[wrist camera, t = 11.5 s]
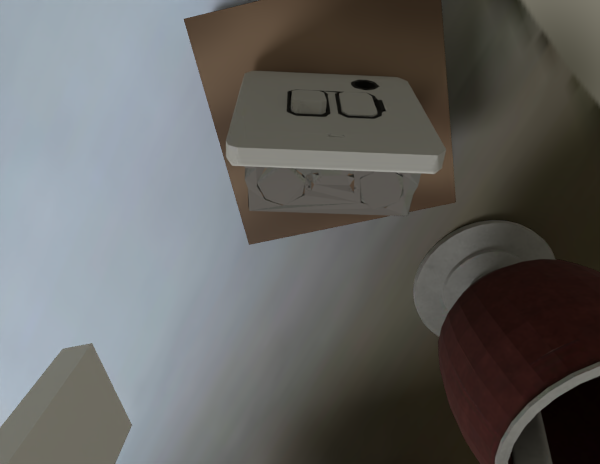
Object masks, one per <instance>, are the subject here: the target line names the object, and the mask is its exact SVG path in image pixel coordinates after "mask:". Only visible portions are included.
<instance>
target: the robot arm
mask: <svg viewBox="0 0 600 464" xmlns="http://www.w3.org/2000/svg"><path fill="white" fill-rule="evenodd" d="M131 426H132V424H131V422H130V420H129V418H128V416H127V414H126V412H125V410H124V408H123V406H122V404H121V402H120V400H119V398H118V396H117V394H116V392H115V390H114V387H113V385H112V383H111V381H110V379H109V377H108V375H107V373H106V371H105V369H104V367H103V365H102V363H101V361H100V359H99V357H98V355H97V353H96V351H95V348H94V346H93V344H92V343H91V344H86V345H81V346H75V347H70V348H65V349H62V350H61V352H60V353H59V354H58V355H57V357H56V358H55V359H54V361H53V362H52V363H51V364H50V366H49V367H48V368H47V369H46V371H45V372H44V373H43V374H42V376H41V377H40V378H39V379H38V381H37V382H36V383H35V385H34V386H33V387H32V388H31V390H30V391H29V392H28V393H27V395H26V396H25V397H24V398H23V400H22V401H21V402H20V403H19V405H18V406H17V407H16V409H15V410H14V411H13V412H12V414H11V415H10V416H9V417H8V419H7V420H6V421H5V422H4V424H3V425H2V426H1V428H0V464H115V463H116V460H117V458H118V456H119V454H120V451H121V449H122V447H123V444H124V442H125V440H126V437H127V435H128V433H129V431H130V428H131Z"/></svg>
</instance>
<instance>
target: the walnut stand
mask: <svg viewBox="0 0 600 464" xmlns="http://www.w3.org/2000/svg"><path fill="white" fill-rule="evenodd" d="M184 22H185V25H186V29H187V32H188V36H189V39H190V42H191V46H192V49H193V53H194V56H195V60H196V63H197V67H198V70H199V73H200V77H201V80H202V84H203V87H204V91H205V94H206V98H207V101H208V104H209V108H210V111H211V115H212V118H213V122H214V125H215V129H216V132H217V135H218V139H219V142H220V146H221V149H222V153H223V156H224V160H225V163H226V167H227V170H228V173H229V177H230V180H231V184H232V187H233V191H234V194H235V198H236V201H237V204H238V208H239V211H240V215H241V218H242V222H243V225H244V229H245V232H246V235H247V239H248V242H249V245H250V244H255V243H260V242H265V241H269V240H274V239H279V238H284V237H289V236H294V235H299V234H304V233H308V232H313V231H318V230H323V229H328V228H333V227H338V226H343V225H348V224H352V223H357V222H362V221H367V220H372V219H377V218H382V217H387V216H388V215H359V214H329V213H300V212H270V211H249V208H248V187H247V184H246V182H245V166H232V165H231V164H230V162H229V161H228V159H227V158H226V138H227V135H228V131H229V128H230V124H231V120H232V117H233V113H234V110H235V106H236V102H237V99H238V95H239V91H240V88H241V84H242V81H243V78H244V74H245V73H248V72H250V71H274V72H296V73H318V74H340V75H363V76H385V77H398V78H401V79H403V80H406V81H408V83H409V85H410V86H411V88H412V90H413V92H414V94H415V95H416V97H417V99H418V101H419V102H420V104H421V106H422V108H423V109H424V111H425V113H426V115H427V116H428V118H429V120H430V122H431V124H432V125H433V127H434V129H435V131H436V132H437V134H438V136H439V138H440V139H441V141H442V143H443V145H444V146H445V148H446V152H445V157H444V161H443V165H442V168H441V169H440V170H439V171H438V172H436V173H435V174H425V173H421V176H420V180H419V184H418V187H417V189H416V190H415V192H414V194H413V197H412V201H411V206H410V210H409V212H411V211H416V210H421V209H426V208H431V207H435V206H440V205H445V204H450V203H455V202H456V198H455V184H454V170H453V156H452V142H451V129H450V115H449V101H448V87H447V74H446V60H445V46H444V32H443V18H442V5H441V0H260V1H256V2H252V3H247V4H243V5H239V6H235V7H231V8H227V9H223V10H219V11H215V12H211V13H206V14H202V15H198V16H194V17H190V18H186V19H184ZM266 169H267V168H265V169H264V171H265V170H266ZM264 171H263V173H264ZM296 171H297V172H298V173H299V174H301V175H302V173H300V172H299V171H298V170H296ZM263 173H262V174H263ZM313 174H316V173H313ZM349 175H353V174H350V173H349V174H348V175H347V176H349ZM313 186H314V183H312V182H311V187H312V188H313ZM350 187H351V189H352V191H354V180H353V181H352V183H351V184H350ZM260 191H261V190H260ZM304 193H305V188H304V192H303V194H304ZM261 194H262V192H261ZM262 196H263V194H262ZM263 197H264V196H263ZM278 204H279V203H278ZM364 204H365V203H364ZM281 205H283V204H281ZM386 207H387V206H386ZM386 207H384V208H386Z"/></svg>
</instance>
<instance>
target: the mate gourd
mask: <svg viewBox="0 0 600 464" xmlns="http://www.w3.org/2000/svg"><path fill="white" fill-rule="evenodd" d="M413 297H414V303H415V306H416V309H417V312H418V314H419V316H420V317H421V319H422V321H423V323H424V324H425V325H426V326H427V327H428V328H429V330H430V331H431V332H433V333H434V334H436V335H437V336H439V341H438V350H439V364H440V371H441V375H442V379H443V383H444V387H445V391H446V395H447V398H448V402H449V405H450V408H451V410H452V413H453V415H454V417H455V419H456V422H457V424H458V426H459V428H460V431H461V433H462V435H463V437H464V439H465V441H466V442H467V444H468V445H469V447H470V449H471V450H472V452H473V454H474V455H475V457H476V458H477V460H478V461H479V463H480V464H600V272H598V271H596V270H594V269H591V268H588V267H585V266H582V265H579V264H576V263H572V262H567V261H563V260H555V257H554V255H553V252H552V250H551V248H550V247H549V246H548V244H547V243H546V242H545V240H544V239H542V238H541V237H540V236H539V235H537V234H536V233H535V232H534V231H532V230H531V229H529V228H527V227H525V226H523V225H521V224H518V223H514V222H510V221H504V220H488V221H481V222H476V223H473V224H469V225H466V226H463V227H461V228H459V229H457V230H455V231H453V232H451V233H449V234H448V235H447V236H445V237H444V238H443V239H441V240H440V241H439V242H437V243H436V244H435V246H434V247H433V248H432V249H431V250H430V251H429V252H428V253H427V254H426V256H425V258H424V259H423V261H422V262H421V264H420V266H419V268H418V271H417V273H416V276H415V280H414V286H413Z"/></svg>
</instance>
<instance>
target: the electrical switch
mask: <svg viewBox="0 0 600 464" xmlns="http://www.w3.org/2000/svg"><path fill="white" fill-rule="evenodd" d="M445 152H446V148H445V146H444V145H443V143H442V141H441V139H440V138H439V136H438V134H437V132H436V131H435V129H434V127H433V125H432V124H431V122H430V120H429V118H428V116H427V115H426V113H425V111H424V109H423V108H422V106H421V104H420V102H419V101H418V99H417V97H416V95H415V94H414V92H413V90H412V88H411V86H410V85H409V83H408V81H406V80H403V79H401V78H398V77H385V76H363V75H340V74H318V73H296V72H274V71H250V72H248V73H245V74H244V78H243V81H242V84H241V88H240V91H239V95H238V99H237V102H236V106H235V110H234V113H233V117H232V120H231V124H230V128H229V131H228V135H227V138H226V158H227V159H228V161H229V162H230V164H231V165H232V166H245V182H246V184H247V187H248V208H249V211H270V212H300V213H329V214H359V215H388V216H408V214H409V210H410V206H411V201H412V197H413V194H414V192H415V190H416V189H417V187H418V184H419V180H420V176H421V173H425V174H435V173H436V172H438V171H439V170H440V169H441V168H442V165H443V161H444V157H445ZM265 168H267V169H266V170H265V171H264V169H265ZM296 170H298V171H299V172H300V173H302V175H301V174H299V173H298V172H297V171H296ZM263 171H264V173H263ZM262 173H263V174H262ZM313 173H316V174H313ZM349 173H350V174H353V175H349V176H347V175H348V174H349ZM353 180H354V191H352V189H351V187H350V184H351V183H352V181H353ZM311 182H312V183H314V186H313V188H312V187H311ZM304 188H305V193H304V194H303V192H304ZM260 190H261V191H260ZM261 192H262V194H263V196H264V197H263V196H262V194H261ZM278 203H279V204H278ZM364 203H365V204H364ZM281 204H283V205H281ZM386 206H387V207H386ZM384 207H386V208H384Z"/></svg>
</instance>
